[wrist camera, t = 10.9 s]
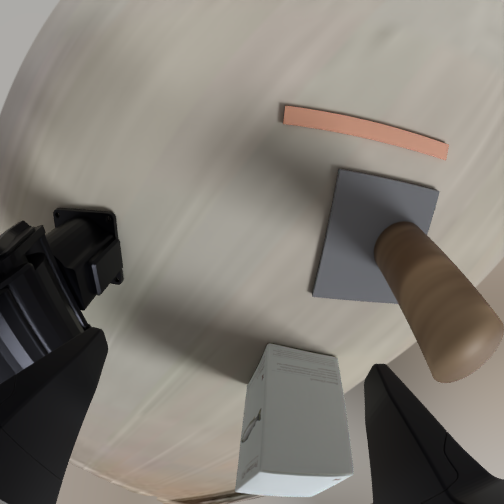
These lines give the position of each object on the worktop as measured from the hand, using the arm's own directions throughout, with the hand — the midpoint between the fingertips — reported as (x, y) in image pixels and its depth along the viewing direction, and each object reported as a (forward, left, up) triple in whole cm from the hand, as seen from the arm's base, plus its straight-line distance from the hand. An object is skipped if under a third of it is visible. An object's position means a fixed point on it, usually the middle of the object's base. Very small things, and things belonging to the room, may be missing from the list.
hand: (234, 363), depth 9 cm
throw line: (+7, +7, -13) cm, 16 cm away
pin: (+11, -1, -13) cm, 17 cm away
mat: (+9, -1, -13) cm, 16 cm away
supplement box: (+5, -16, -13) cm, 21 cm away
